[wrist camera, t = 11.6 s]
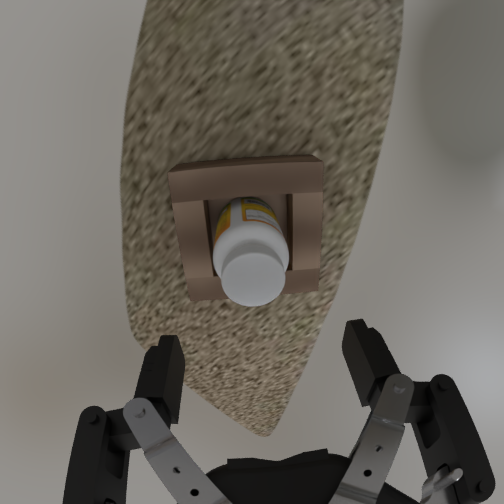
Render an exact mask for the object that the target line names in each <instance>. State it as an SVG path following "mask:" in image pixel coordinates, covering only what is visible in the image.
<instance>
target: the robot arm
mask: <svg viewBox="0 0 504 504" xmlns="http://www.w3.org/2000/svg"><path fill="white" fill-rule="evenodd" d="M342 351H343V355H344V358H345V360H346V363H347V366H348V368H349V371H350V374H351V377H352V380H353V382H354V385H355V388H356V391H357V393H358V396H359V399H360V402H361V405H362V407H364V406H368V405H370V408H371V412H370V414H369V416H368V419H367V421H366V423H365V426H364V428H363V430H362V432H361V434H360V436H359V438H358V440H357V442H356V444H355V446H354V448H353V450H352V451H351V453H350V455H349V457H348V458H347V457H344V456H341V455H337V454H329V453H328V450H327V448H326V449H320V450H315V451H309V452H303V453H301V454H298V455H295V456H292V457H289V458H287V459H284V460H281V461H272V460H264V459H257V458H241V459H240V458H238V459H227V464H226V465H222V466H219V467H217V468H215V469H213V470H211V471H210V472H208V473H207V474H204V472H203V471H202V470H201V469H200V468H199V467H198V465H197V464H196V463H195V462H194V461H193V460H192V458H191V457H190V456H189V454H188V453H187V452H186V451H185V449H184V448H183V447H182V445H181V444H180V443H179V442H178V440H177V439H176V438H175V437H174V435H173V434H172V433H171V431H170V426H171V424H178V419H179V410H180V402H181V394H182V386H183V379H184V371H185V358H184V354H183V351H182V348H181V345H180V342H179V339H178V336H177V335H161V337H160V340H159V344H158V346H151V347H150V349H149V350H148V351H147V352H146V354H145V357H144V361H143V364H142V368H141V372H140V375H139V379H138V383H137V387H136V391H135V395H134V398H133V399H132V400H130V401H129V402H127V403H126V405H125V406H124V408H121V409H117V410H112V411H107V412H105V411H104V410H103V409H102V408H100V407H98V406H90V407H88V408H86V409H84V411H83V412H82V413H81V415H80V418H79V422H78V426H77V430H76V434H75V438H74V442H73V447H72V452H71V456H70V461H69V467H68V473H67V477H66V483H65V490H64V497H63V504H126V490H127V477H128V466H129V457H130V450H132V449H138V448H142V449H143V451H144V455H145V457H146V459H147V460H148V462H149V463H150V465H151V467H152V468H153V470H154V471H155V472H156V474H157V475H158V477H159V478H160V480H161V481H162V482H163V484H164V485H165V487H166V488H167V489H168V491H169V492H170V493H171V495H172V496H173V497H174V499H175V500H176V501H177V504H479V503H481V502H483V501H485V500H487V499H488V498H489V497H490V496H491V495H492V493H493V491H494V489H495V478H494V475H493V472H492V469H491V466H490V463H489V460H488V458H487V455H486V452H485V450H484V447H483V444H482V442H481V439H480V437H479V434H478V432H477V430H476V427H475V425H474V423H473V421H472V418H471V416H470V414H469V412H468V409H467V407H466V405H465V403H464V400H463V398H462V397H461V394H460V392H459V390H458V388H457V386H456V384H455V382H454V381H453V379H452V378H451V377H449V376H447V375H444V374H439V375H436V376H434V377H433V378H432V380H431V381H430V382H415V381H412V380H411V379H410V378H409V377H408V376H406V375H404V374H401V372H400V371H399V368H398V367H397V364H396V362H395V360H394V358H393V356H392V355H391V353H390V351H389V350H388V347H387V345H386V343H385V341H384V339H383V338H382V336H381V334H380V333H379V332H378V331H377V330H375V329H374V328H368V327H367V325H366V323H365V322H364V320H363V319H357V320H350V321H347V323H346V327H345V332H344V337H343V341H342ZM404 423H411V425H412V428H413V430H414V433H415V437H416V440H417V443H418V446H419V449H420V452H421V456H422V459H423V462H424V466H425V469H426V473H427V476H428V478H427V479H426V481H425V482H424V484H423V486H422V499H421V501H420V503H418V502H417V501H416V500H414V499H412V498H411V497H409V496H407V495H405V494H404V493H402V492H400V491H399V490H397V489H396V488H394V487H392V486H391V485H389V484H387V483H386V482H385V479H386V477H387V475H388V472H389V470H390V468H391V465H392V463H393V460H394V458H395V455H396V453H397V450H398V448H399V445H400V442H401V439H402V436H403V434H404V430H405V426H404Z"/></svg>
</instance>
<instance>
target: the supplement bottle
mask: <svg viewBox="0 0 504 504" xmlns="http://www.w3.org/2000/svg"><path fill="white" fill-rule="evenodd" d="M288 263H289V251H288V247H287V243H286V241H285V238H284V236H283V233H282V231H281V228H280V226H279V223H278V221H277V218H276V215H275V213H274V211H273V210H272V208H271V207H270V206H269V205H268V204H267V203H266V202H264V201H263V200H261V199H259V198H256V197H251V196H246V197H239V198H236V199H234V200H232V201H230V202H229V203H228V204H227V205H226V206H225V207H224V208H223V209H222V211H221V212H220V214H219V217H218V221H217V229H216V236H215V243H214V250H213V264H214V268H215V270H216V272H217V274H218V276H219V277H220V278H221V283H222V287H223V290H224V292H225V294H226V295H227V296H228V297H229V298H230V299H231V300H232V301H234V302H236V303H238V304H240V305H244V306H260V305H264V304H267V303H269V302H271V301H272V300H274V299H275V298H276V297H277V296H278V295H279V294H280V293H281V291H282V289H283V287H284V285H285V272H286V269H287V267H288Z"/></svg>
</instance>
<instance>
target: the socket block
mask: <svg viewBox="0 0 504 504" xmlns="http://www.w3.org/2000/svg"><path fill="white" fill-rule="evenodd" d="M168 180H169V187H170V194H171V200H172V207H173V213H174V219H175V225H176V231H177V236H178V242H179V247H180V252H181V258H182V263H183V268H184V273H185V277H186V282H187V287H188V292H189V296H190V301H200V300H216V299H230V298H229V297H228V296H227V295H226V294H225V292H224V290H223V287H222V283H221V278H220V277H219V276H218V274H217V272H216V270H215V268H214V264H213V250H214V243H215V236H216V229H217V221H218V217H219V214H220V212H221V211H222V209H223V208H224V207H225V206H226V205H227V204H228V203H229V202H230V201H232V200H234V199H236V198H239V197H246V196H251V197H256V198H259V199H261V200H263V201H264V202H266V203H267V204H268V205H269V206H270V207H271V208H272V210H273V211H274V213H275V215H276V218H277V221H278V223H279V226H280V228H281V231H282V233H283V236H284V238H285V241H286V243H287V247H288V251H289V263H288V267H287V269H286V272H285V285H284V287H283V289H282V291H281V293H280V294H291V293H301V292H311V291H318V285H319V272H320V257H321V239H322V215H323V161H321V160H320V159H318V158H316V157H315V156H313V155H289V156H266V157H249V158H236V159H224V160H213V161H203V162H194V163H186V164H178V165H176V166H174V167H173V168H172V169H171V170H170V171H169V172H168ZM280 294H279V295H280Z"/></svg>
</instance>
